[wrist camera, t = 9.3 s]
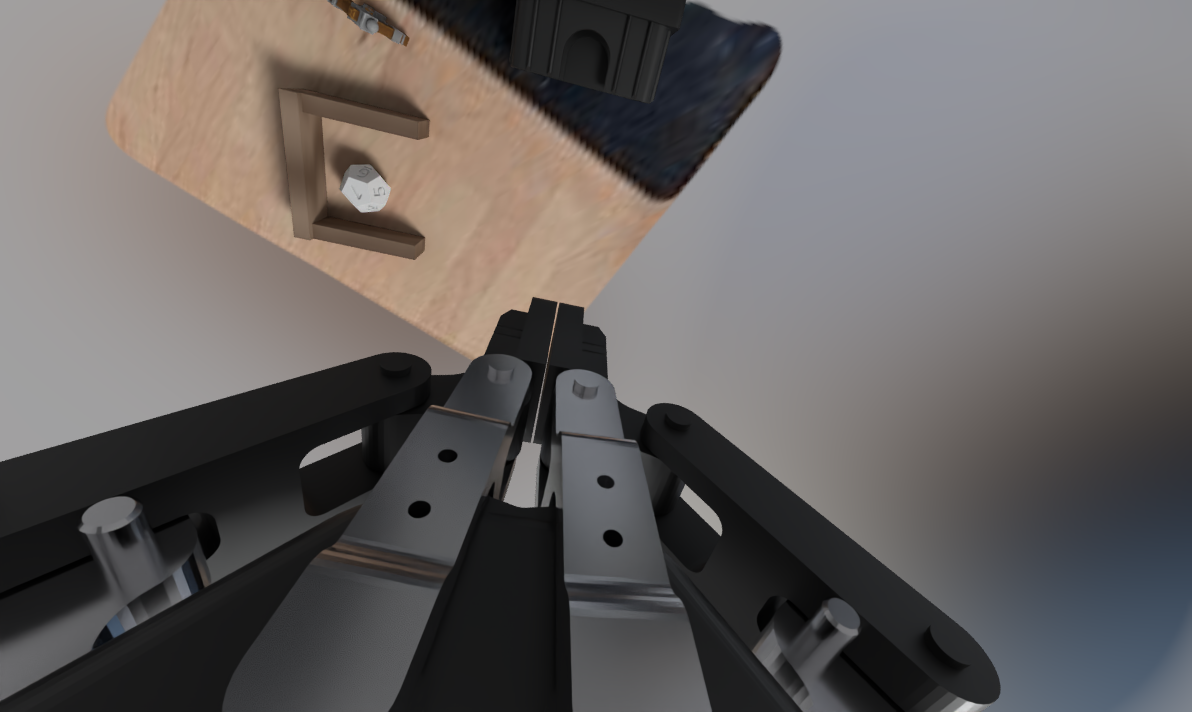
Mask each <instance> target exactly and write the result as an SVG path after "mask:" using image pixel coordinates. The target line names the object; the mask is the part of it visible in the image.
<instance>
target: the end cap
mask: <svg viewBox="0 0 1192 712" xmlns="http://www.w3.org/2000/svg"><path fill="white" fill-rule="evenodd" d="M685 3H686V0H516V8H515V17H514V25H513V34H512V43H511V51H510V60H509V61H510V63H511V66H512V67H515V68H518V69H521V70H525V71H528V72H532V73H535V74H539V75H543V76H546V77H550V78H554V79H557V80H561V81H565V82H569V83H572V84H576V85H580V86H583V87H587V88H591V89H595V90H598V91H602V92H606V93H609V94H613V95H617V96H621V97H624V98H628V99H632V100H635V101H640V102H643V103H649V104H650V102H652V101H653V100H654V97H655V93H656V89H657V85H658V81H659V77H660V74H661V70H662V66H663V62H664V58H665V54H666V50H667V46H668V43H669V39H670V36H671V35H673V34H674V33H675V32H677V31H678V30H679V29H680V25H681V21H682V17H683V12H684V8H685Z"/></svg>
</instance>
